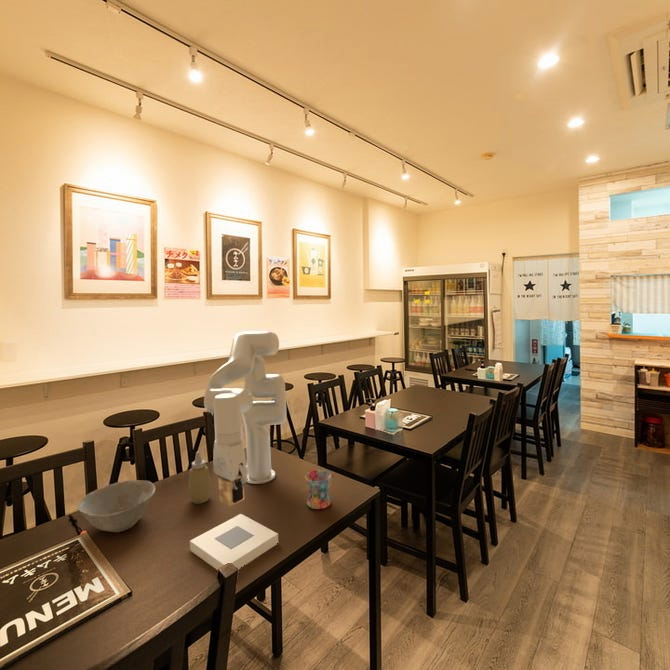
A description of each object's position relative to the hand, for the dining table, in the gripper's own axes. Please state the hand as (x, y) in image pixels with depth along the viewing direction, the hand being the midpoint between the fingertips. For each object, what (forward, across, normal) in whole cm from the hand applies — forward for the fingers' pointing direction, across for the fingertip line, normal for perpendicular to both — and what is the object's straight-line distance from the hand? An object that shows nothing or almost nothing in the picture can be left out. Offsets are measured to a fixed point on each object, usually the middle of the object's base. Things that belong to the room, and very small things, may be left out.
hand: (232, 497), depth 114 cm
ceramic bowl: (+16, -40, -16) cm, 46 cm away
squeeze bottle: (+15, -33, +9) cm, 38 cm away
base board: (+15, 0, 0) cm, 15 cm away
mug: (+15, +4, +34) cm, 38 cm away
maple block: (+1, 0, 0) cm, 1 cm away
